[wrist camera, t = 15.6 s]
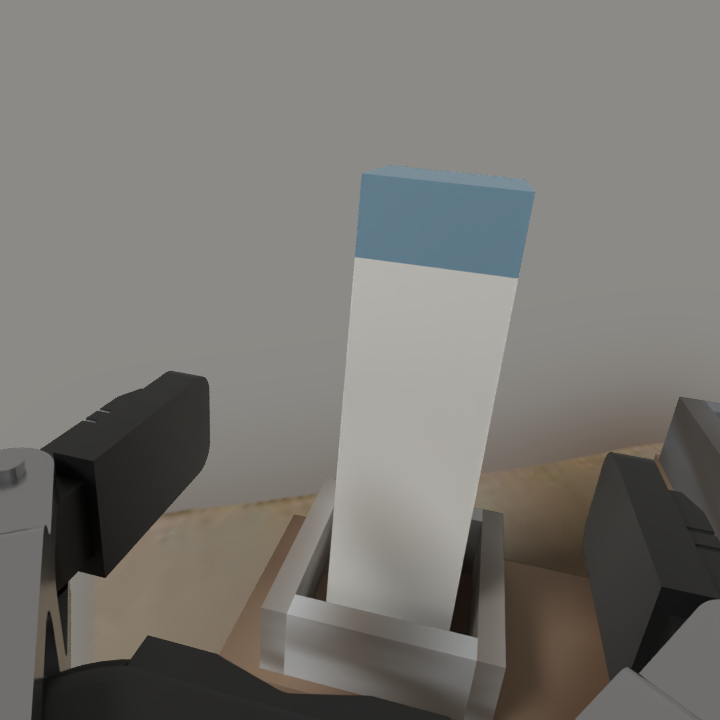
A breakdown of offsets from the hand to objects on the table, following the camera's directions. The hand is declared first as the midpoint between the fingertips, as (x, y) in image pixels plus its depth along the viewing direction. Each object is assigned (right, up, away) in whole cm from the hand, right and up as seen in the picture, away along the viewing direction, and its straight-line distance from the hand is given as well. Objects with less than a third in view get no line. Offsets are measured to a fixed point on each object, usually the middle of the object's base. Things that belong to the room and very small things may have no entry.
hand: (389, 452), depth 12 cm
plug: (0, -7, +9) cm, 12 cm away
